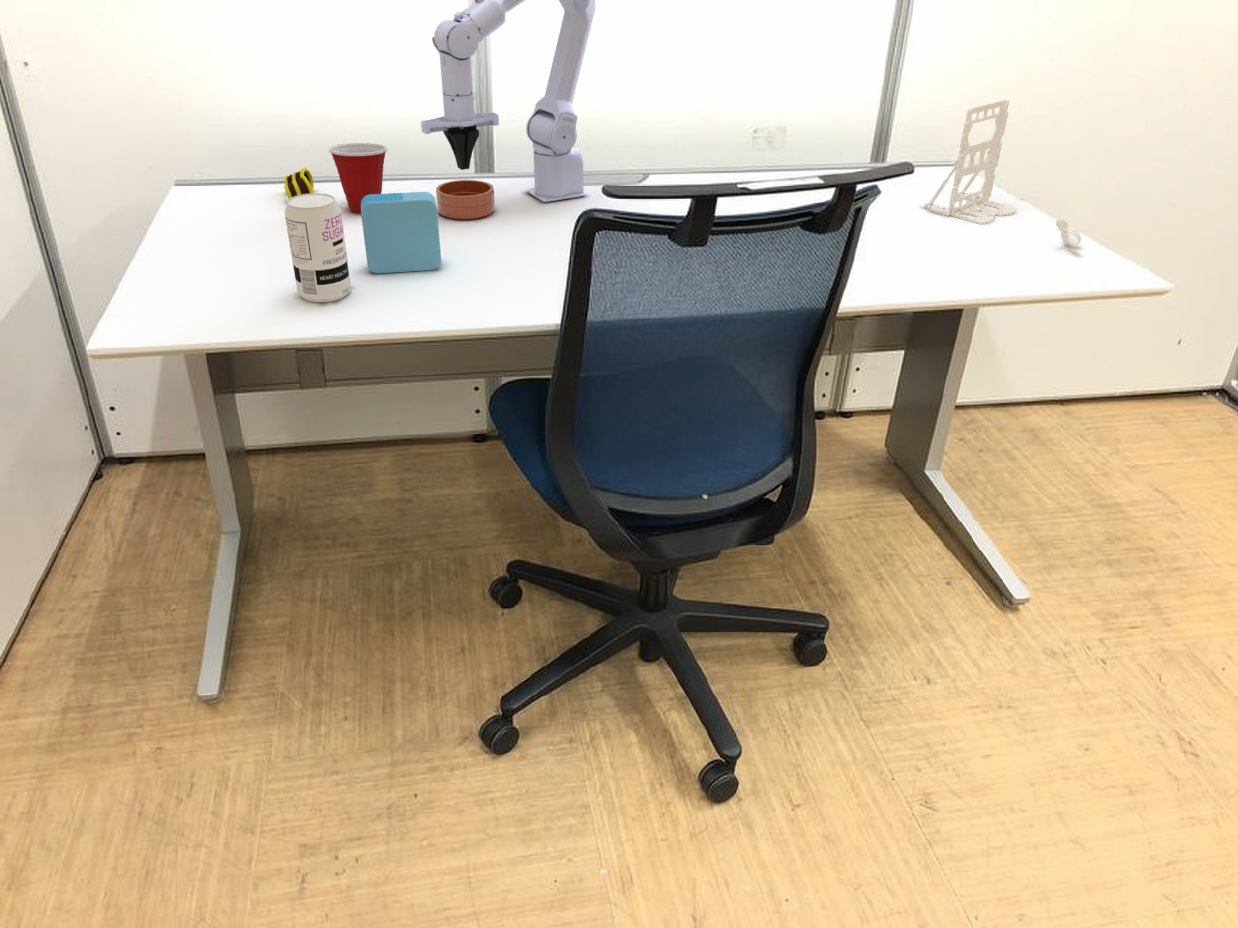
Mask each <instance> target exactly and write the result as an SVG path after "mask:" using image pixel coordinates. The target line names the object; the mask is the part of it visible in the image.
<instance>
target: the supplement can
mask: <svg viewBox="0 0 1238 928" xmlns="http://www.w3.org/2000/svg"><path fill="white" fill-rule="evenodd" d="M284 219H285V225H286V231H287V236H288V243H289V248H290V255H291V260H292V267H293V273H294V278H295V285H296V292H297V294H298V295H299V296H300V297H301V298H303V299H304V300H305V301H308V302H311V303H331V302H335V301H338V300H341V299H343V298H345V297H347V295H348V294H349V292H350V291H351V290H352V284H351V277H350V275H351V274H350V269H349V268H350V267H349V262H348V261H349V260H348V253H347V245H346V240H345V239H346V238H345V231H344V223H343V217H342V210H341V206H340V205H339V203H338V201H336V197H335V196H333V195H331V194H329V193H320V192H316V193H315V192H314V193H310V194H302V195H298V196H294V197H292V198H290V199H289V198H288V199H287V201H286V206H285V208H284Z"/></svg>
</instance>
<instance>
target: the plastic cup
mask: <svg viewBox="0 0 1238 928" xmlns="http://www.w3.org/2000/svg"><path fill="white" fill-rule="evenodd" d="M388 148H389V147H388V146H387V145H385V144H381V143H380V144H379V143H372V142H370V143H369V142H351V143H342V144H335V145H332V146H330V147H328V152H329V153H330V155H331V156H332V159H333V161H334V165H335V167H336V170H337V173H338V177H339V181H340V184H341V187H342V191H343V193H344V196H345V199H346V202H347V206H348V208H349V211H350V212H352V213H355V214H361V201H362V199H363V198H364V197H365V196H366V195H370V194H382V191H383V181H384V180H383V179H384V178H383V177H384V164H385V159H386V153H387V151H388Z"/></svg>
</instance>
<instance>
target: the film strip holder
mask: <svg viewBox="0 0 1238 928" xmlns="http://www.w3.org/2000/svg"><path fill="white" fill-rule="evenodd" d="M1009 104H1010V100H1008V99H1002V100H998V101H995V102H991V103H987V104H983V105H978V106H975V107H971V108H967V113H966V116H965V122H964V125H963V130H962V134H961V135H962V136H961V139H960V140H961V141H960V146H959V154H958V155H957V159H956V160H955V161H954V166H953V167H952V169H951V171H950V172H949V173H948V175H947V177H945V178H944V180H943V182H942V183H941V184H940V185H939V188H938V189H937V190H936V192H935V193H934V195H933V196H932V198H931V199H930V201H929V202H926V203H924V206H923V208H924V209H927V210H930V212H932V213H935V214H939V215H943V216H946V217H954V218H956V219H960V220H964V221H968V222H970V223H974V224H978V225H987V224H988V225H989V224H993V223H994V222H996V216H997V217H1004V216H1006V217H1008V216H1013V215H1015V214H1018V212H1017V208H1016V207H1012V206H1008V205H1005V204H1003V203H999V202H996V201H992V200H990V197H991V196H992V192H993V187H994V182H995V179H996V174H995V170H996V168H997V167H998V164H999V159H1000V154H1001V150H1002V137H1004V135H1005V131H1006V125H1007V122H1008V116H1009V112H1008V109H1009ZM997 108H999V109H998V113H995V110H996V109H997ZM990 110H991V114H990V115H988V113H989V111H990ZM982 112H983V115H982V116H983V117H980V118H979V116H980V113H982ZM973 115H975V119H972V117H973ZM991 119H994V121H995V122H994V123H995V129H994V132H993V134H992V136H991V137H990V139H989V140H986V141H982V142H979V143H975V144H971V145H970V143H969V134H970V132H971V130H972V128H973V126H974V124H977V123H980V122H984V121H988V120H991ZM988 149H989V150H988ZM986 151H987V155H986V157H985V154H986ZM979 152H980V153H979ZM977 153H979V157H978V160H977V163H975V158H976V155H977ZM967 156H969V161H968V163H967V166H965V161H966V159H967V158H966V157H967ZM983 171H984V181H983V182H982V185H981V188H980V189H979V190H977V191H975V192H972V191H971V192H969V193H966V192H967V190H968V189H969V188H970V186H971V185H972V184H973V182H974V180H975V179H976V178H977V176H978V175H979V173H980V172H983ZM953 174H954V178H953V185H952V188H951V193H950V198H949V204H948V210H947V208H946V206H944V205H940V204H934V203H935V201H936V200H937V198H938V197H939V195H940V194H941V193H942V191H943V190H944V188H945V187H946V185H947V184H948V182H949V180H950V179H951V177H952V175H953ZM970 175H971V177H970V179H969V180H968V182H967V183H966V184H965V186H964V187H963V189H962V190H961V191H959V187H960V185H961V183H962V180H963V179H964V178H965V177H966V176H970ZM963 200H965V203H964V204H962V203H963ZM957 202H958V206H956V203H957ZM985 206H986V207H985ZM990 207H992V208H990ZM993 208H994V209H993ZM996 209H997V210H996ZM963 214H964V215H963ZM966 215H970V216H972V217H969V216H966ZM973 217H974V218H973Z"/></svg>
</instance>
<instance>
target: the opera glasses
mask: <svg viewBox="0 0 1238 928" xmlns="http://www.w3.org/2000/svg"><path fill="white" fill-rule="evenodd" d="M283 181H284V185H283V187H284V190H285V193H286V196H287V198H288V200H289V199H290V198H292V197H294V196H298V195H302V194H310V193H315V192H314V187H315V185H314V178H313V175H312V173H311V172H310V170H309V169H308V168H307V167H302V168H301V169H300V170H299V171H295V172H292V174H288V175H284V177H283Z"/></svg>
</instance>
